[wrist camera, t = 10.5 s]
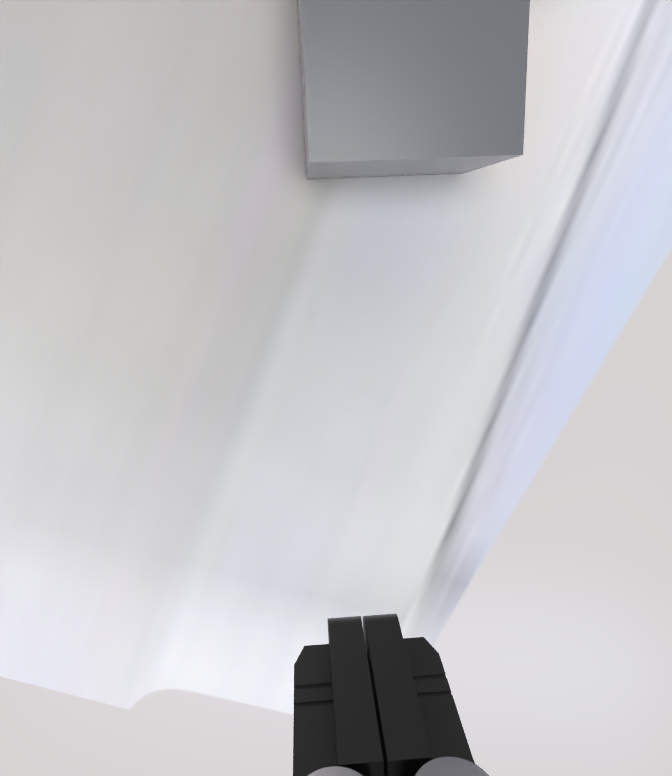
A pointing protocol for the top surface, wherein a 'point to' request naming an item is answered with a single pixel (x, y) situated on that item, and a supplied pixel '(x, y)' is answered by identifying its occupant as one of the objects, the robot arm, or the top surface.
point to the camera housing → (411, 85)
